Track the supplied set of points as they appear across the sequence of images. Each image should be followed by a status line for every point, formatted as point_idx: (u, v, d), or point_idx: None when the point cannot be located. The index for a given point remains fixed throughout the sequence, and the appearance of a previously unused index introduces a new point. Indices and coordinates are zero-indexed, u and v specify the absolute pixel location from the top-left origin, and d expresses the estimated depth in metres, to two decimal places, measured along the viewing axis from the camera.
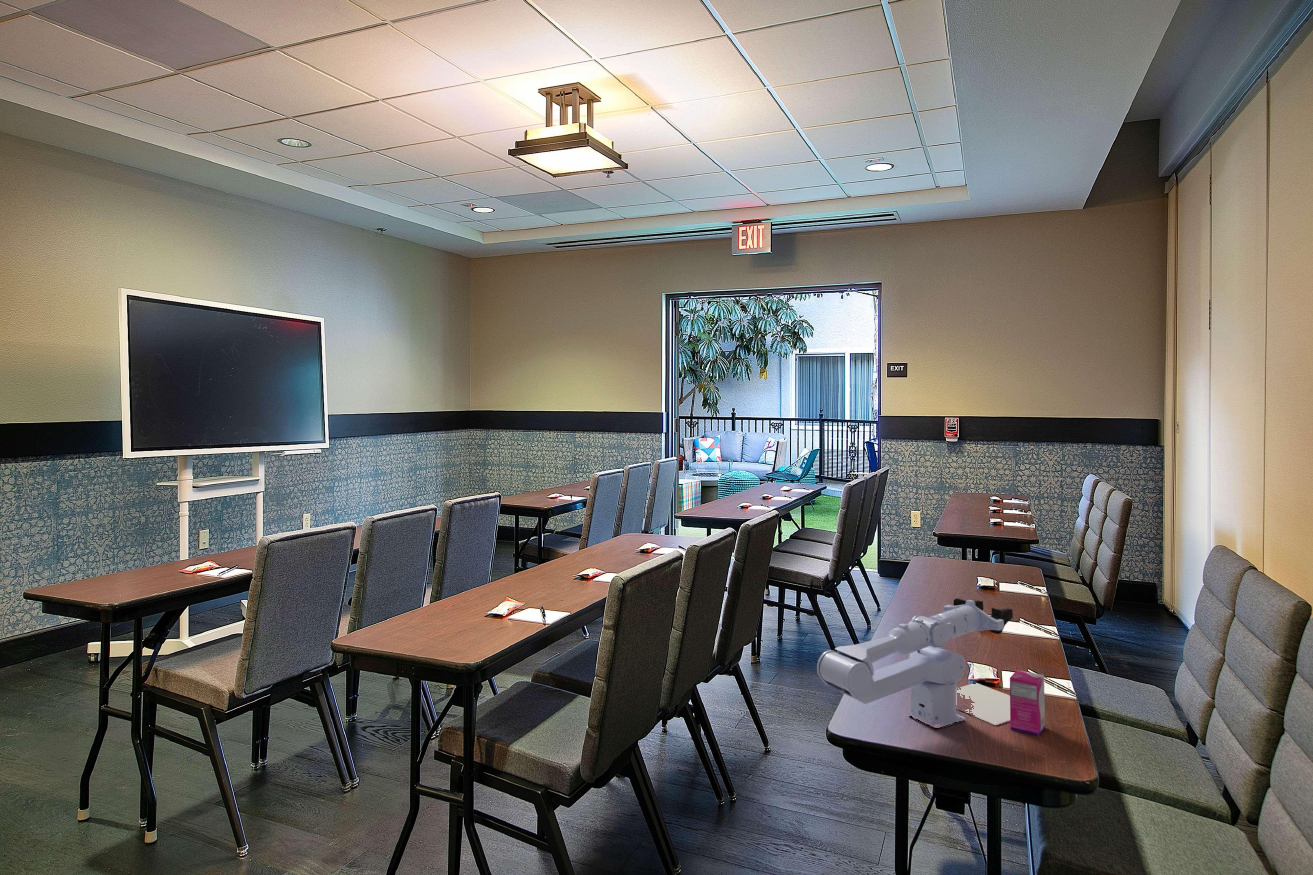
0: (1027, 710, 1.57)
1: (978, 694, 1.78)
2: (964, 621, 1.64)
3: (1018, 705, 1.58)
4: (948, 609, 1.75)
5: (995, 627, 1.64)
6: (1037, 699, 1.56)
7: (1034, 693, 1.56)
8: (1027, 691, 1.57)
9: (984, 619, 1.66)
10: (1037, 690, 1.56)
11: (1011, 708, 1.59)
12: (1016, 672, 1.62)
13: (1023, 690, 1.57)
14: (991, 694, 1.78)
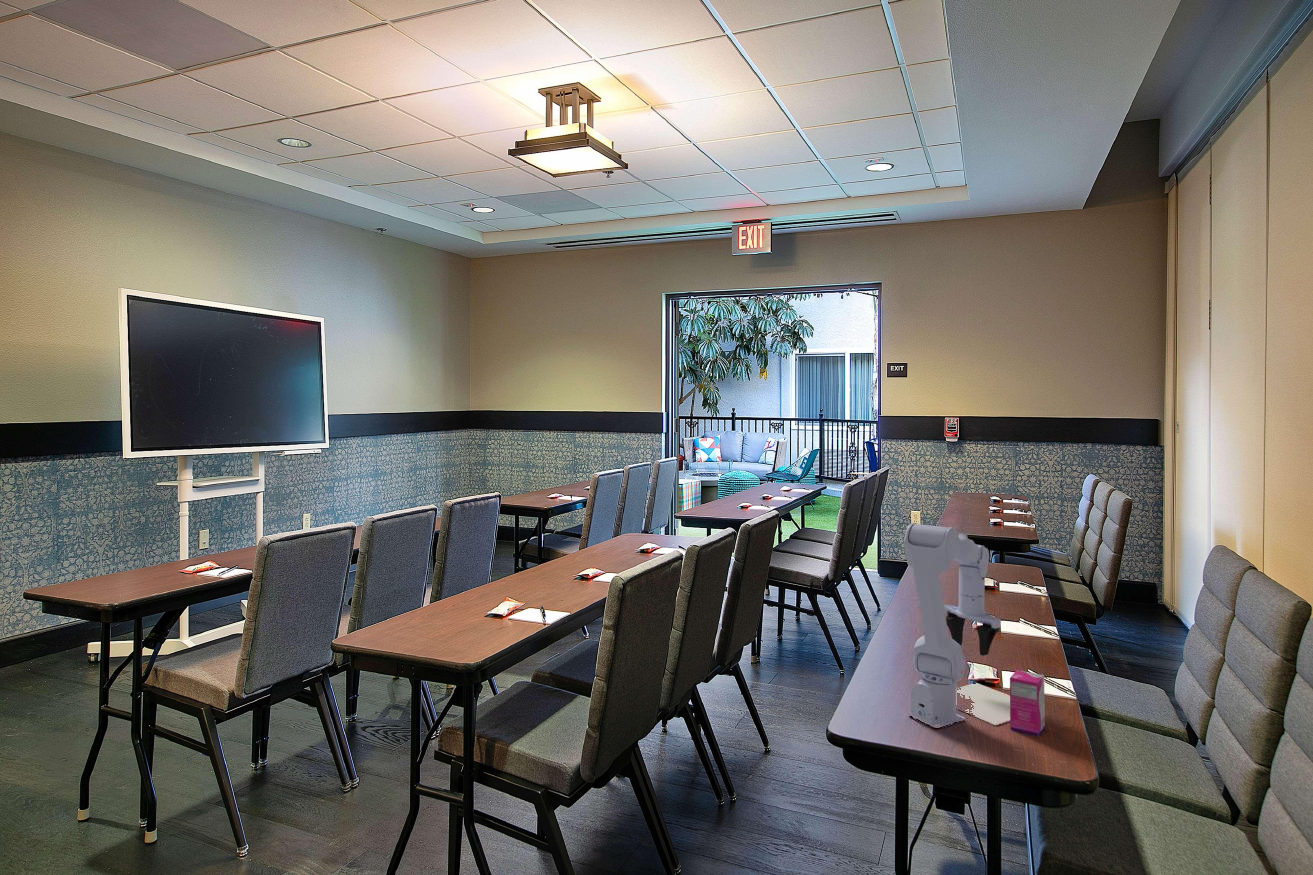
0: (1027, 710, 1.57)
1: (978, 694, 1.78)
2: (984, 591, 1.77)
3: (1018, 705, 1.58)
4: None
5: None
6: (1037, 699, 1.56)
7: (1034, 693, 1.56)
8: (1027, 691, 1.57)
9: None
10: (1037, 690, 1.56)
11: (1011, 708, 1.59)
12: (1016, 672, 1.62)
13: (1023, 690, 1.57)
14: (991, 694, 1.78)
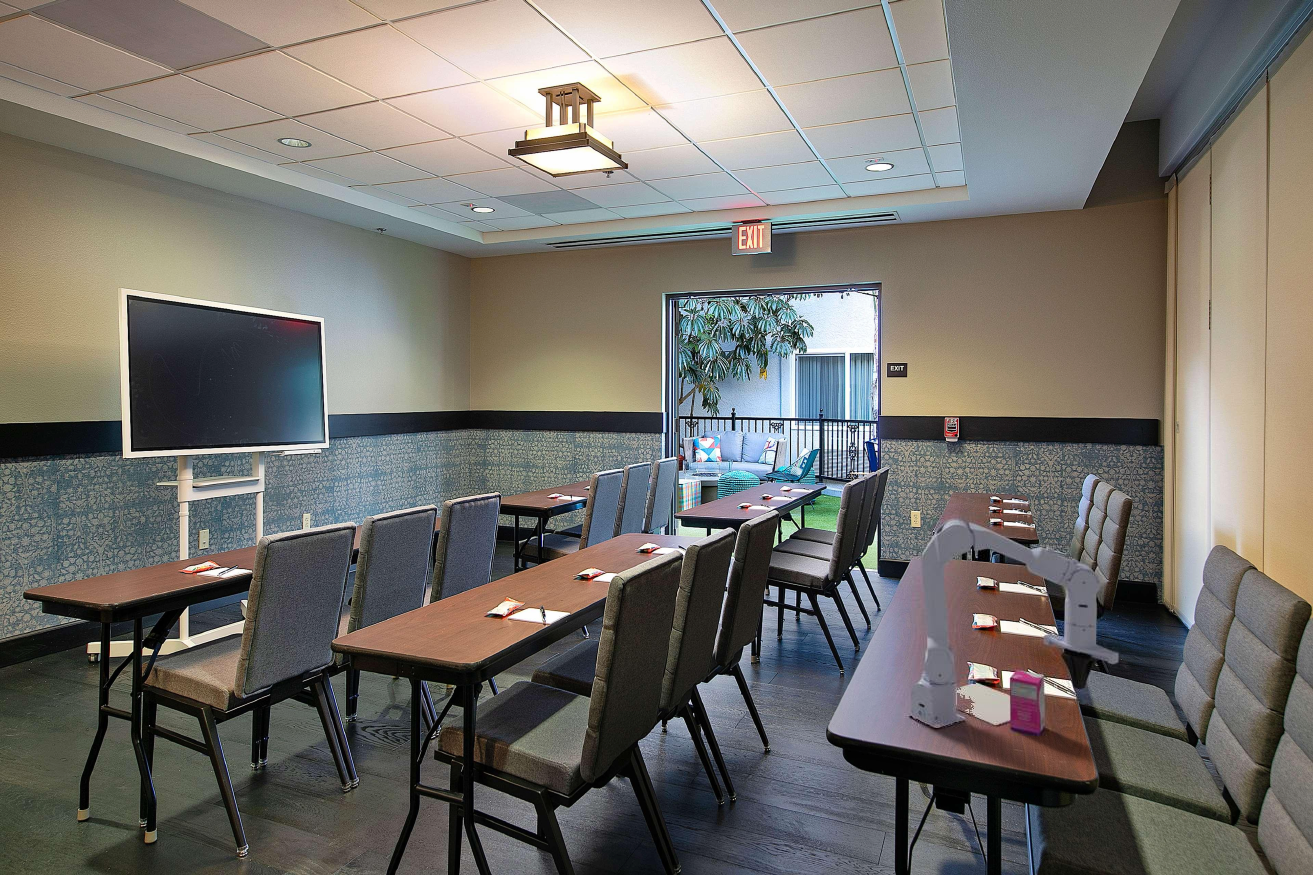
0: (1027, 710, 1.57)
1: (978, 694, 1.78)
2: (1088, 623, 1.52)
3: (1018, 705, 1.58)
4: None
5: None
6: (1037, 699, 1.56)
7: (1034, 693, 1.56)
8: (1027, 691, 1.57)
9: None
10: (1037, 690, 1.56)
11: (1011, 708, 1.59)
12: (1016, 672, 1.62)
13: (1023, 690, 1.57)
14: (991, 694, 1.78)
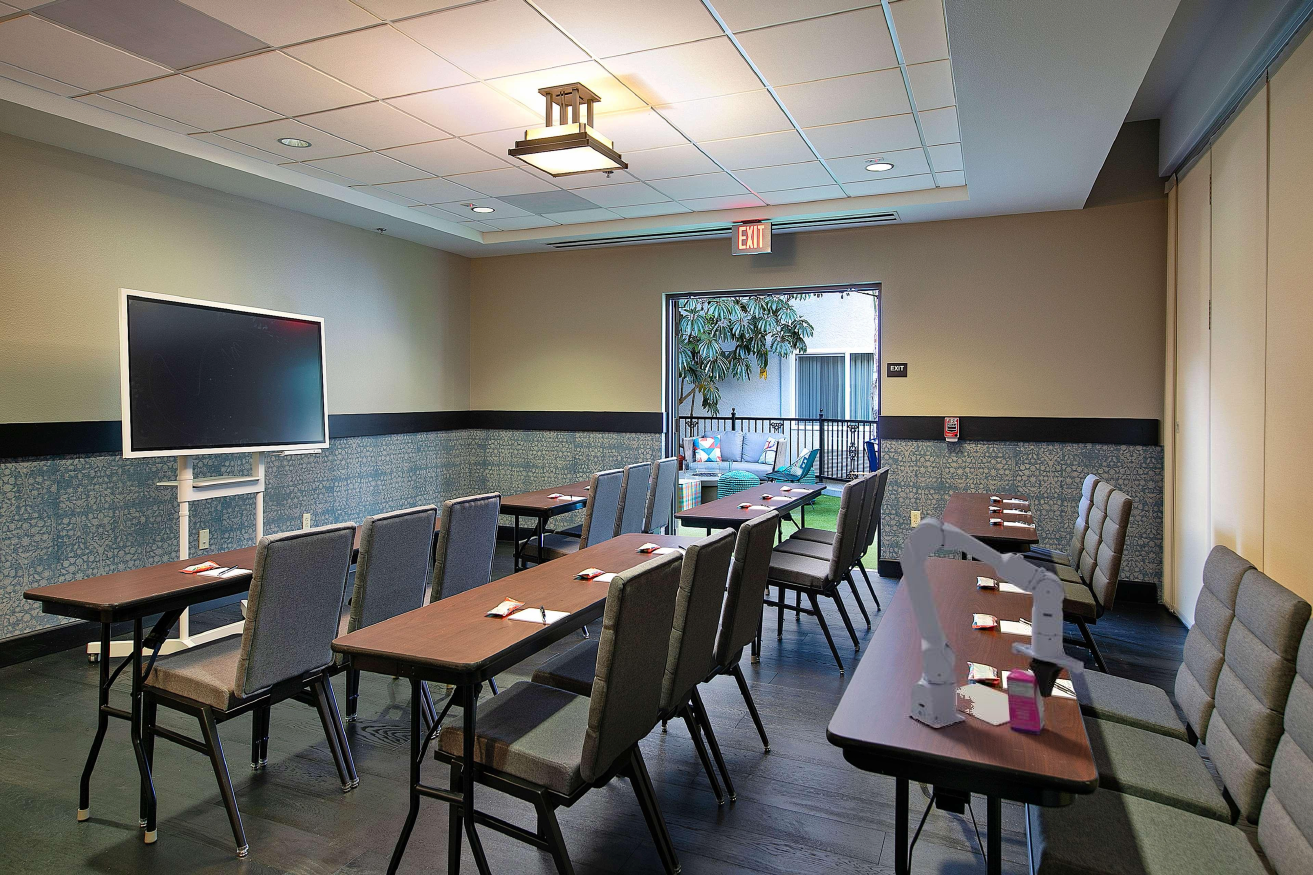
0: (1025, 708, 1.57)
1: (978, 694, 1.78)
2: (1053, 632, 1.52)
3: (1016, 703, 1.58)
4: None
5: None
6: (1034, 697, 1.56)
7: (1032, 691, 1.56)
8: (1024, 689, 1.57)
9: None
10: (1034, 687, 1.56)
11: (1010, 707, 1.59)
12: (1013, 671, 1.62)
13: (1020, 688, 1.58)
14: (991, 694, 1.78)
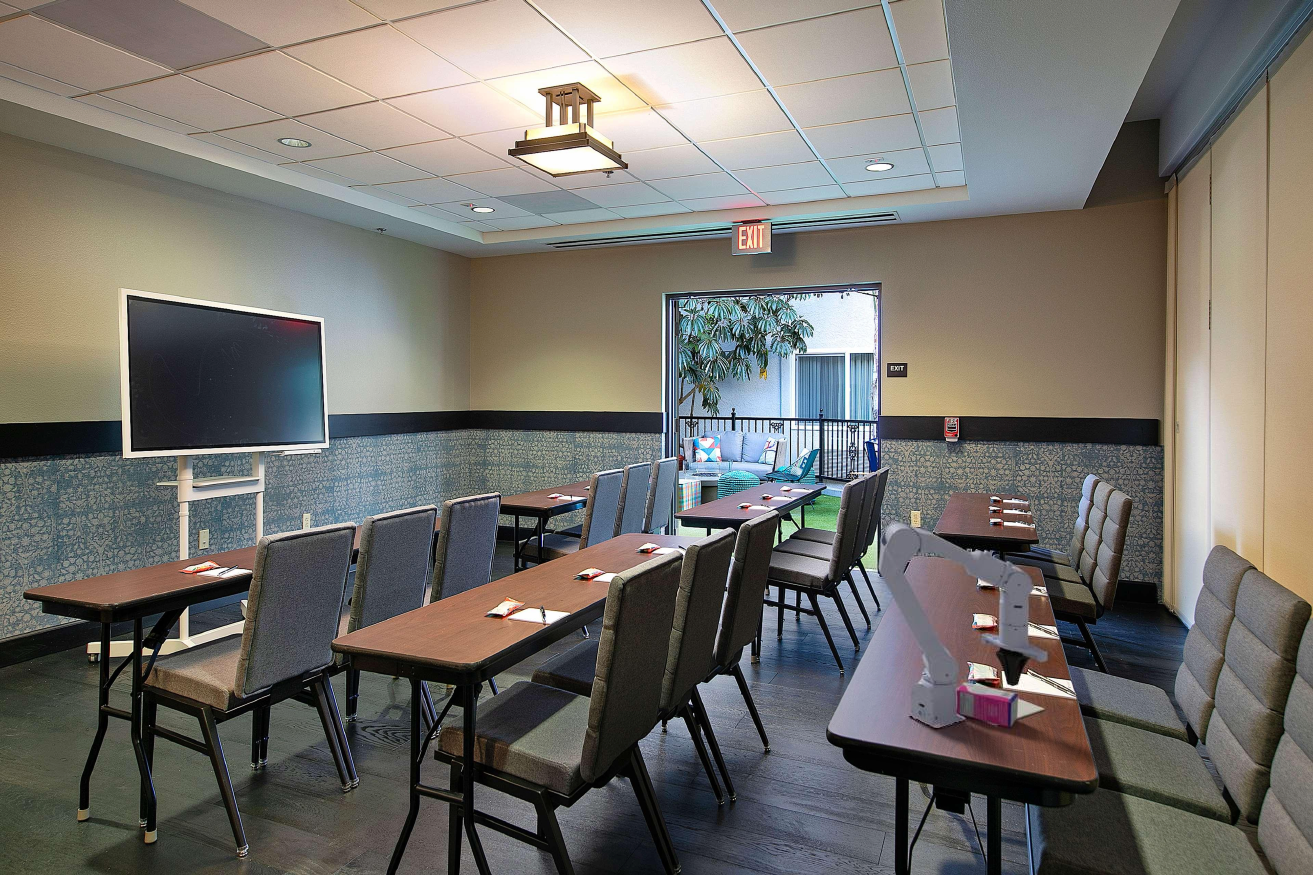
0: (986, 705, 1.62)
1: None
2: (1022, 622, 1.59)
3: (982, 713, 1.63)
4: None
5: None
6: (973, 694, 1.64)
7: (968, 695, 1.65)
8: (967, 701, 1.65)
9: None
10: (964, 691, 1.65)
11: (987, 720, 1.62)
12: None
13: (966, 704, 1.65)
14: None
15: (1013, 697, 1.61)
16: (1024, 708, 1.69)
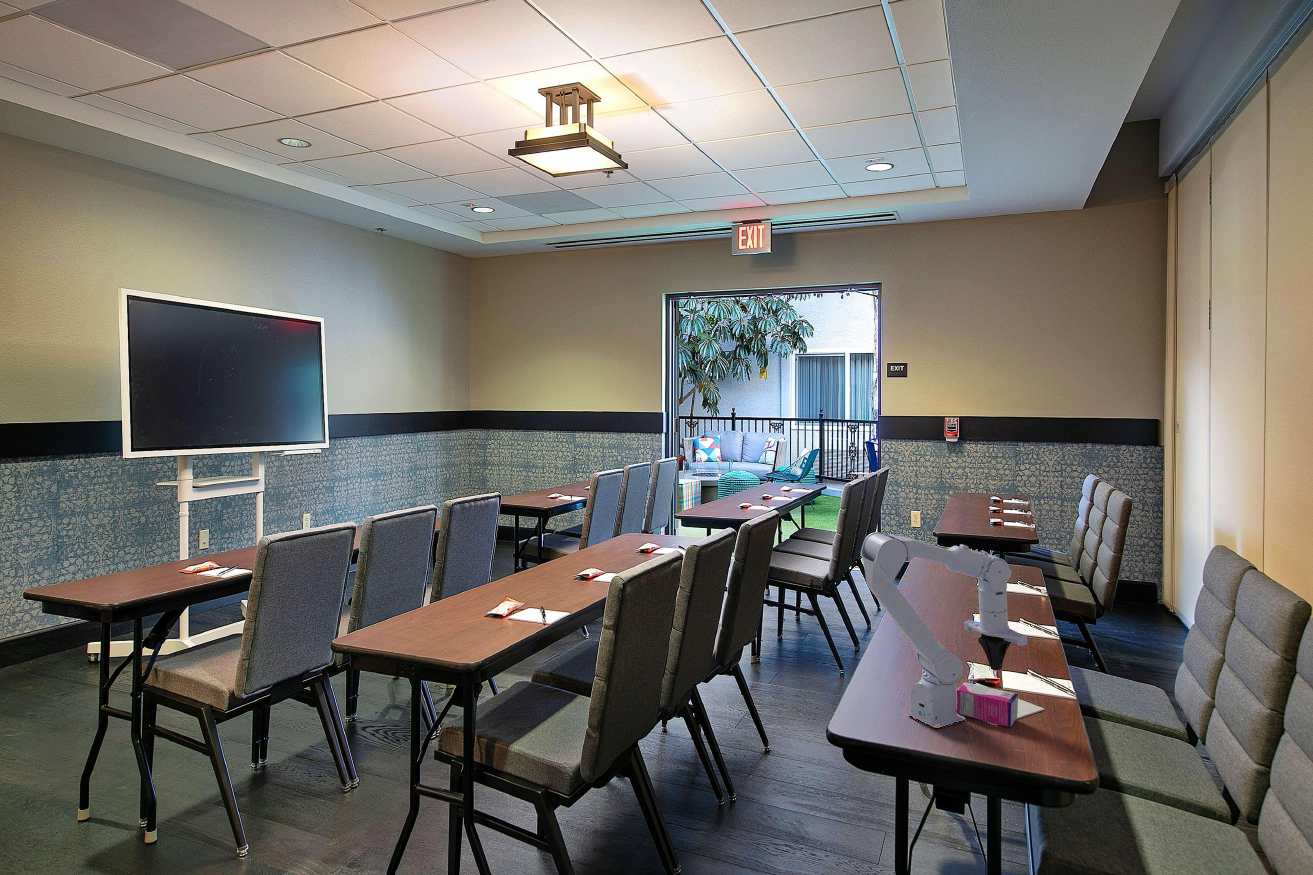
0: (986, 705, 1.62)
1: None
2: (1004, 608, 1.63)
3: (982, 713, 1.63)
4: None
5: None
6: (973, 694, 1.64)
7: (968, 695, 1.65)
8: (967, 701, 1.65)
9: None
10: (964, 691, 1.65)
11: (987, 720, 1.62)
12: None
13: (966, 704, 1.65)
14: None
15: (1013, 697, 1.61)
16: (1024, 708, 1.69)
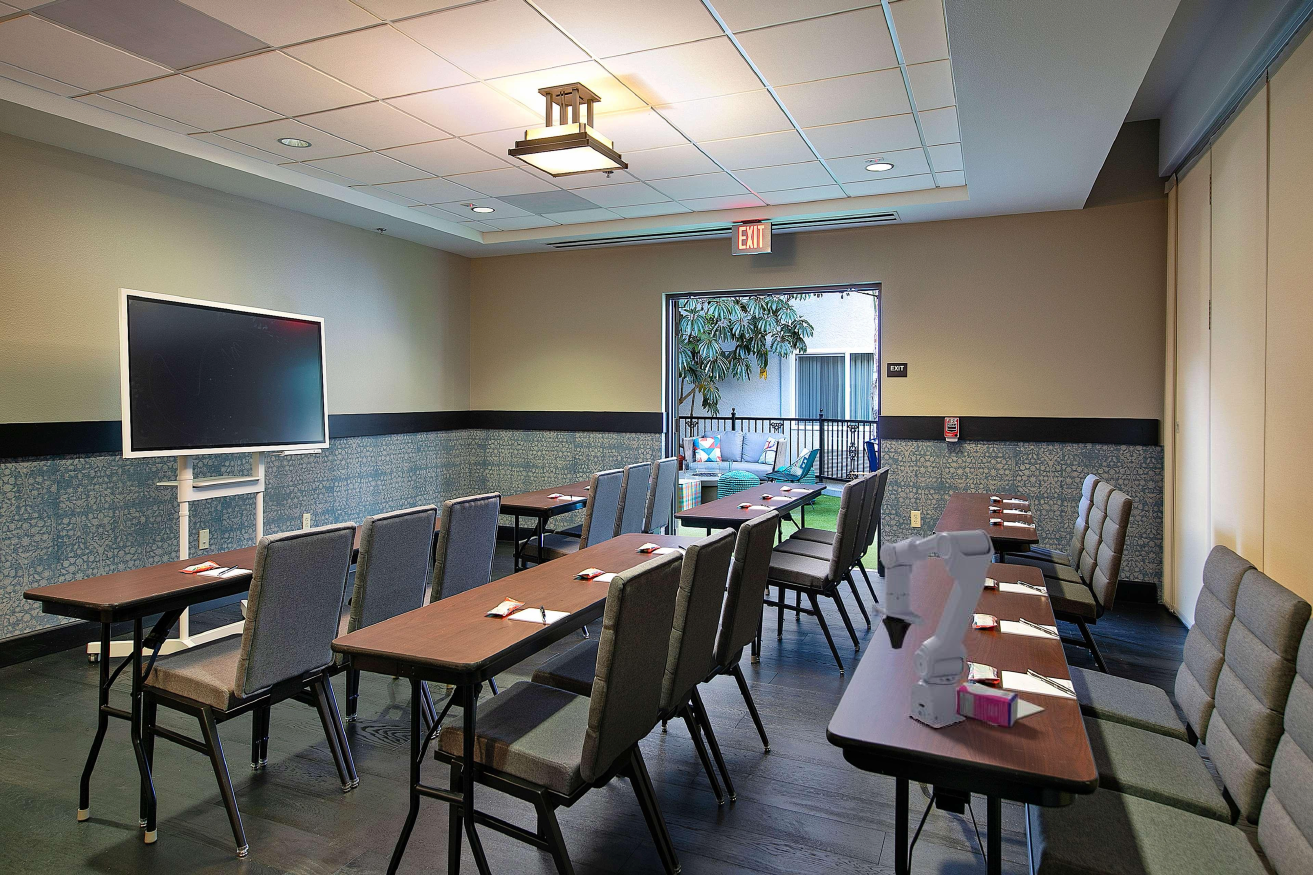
0: (986, 705, 1.62)
1: None
2: None
3: (982, 713, 1.63)
4: None
5: None
6: (973, 694, 1.64)
7: (968, 695, 1.65)
8: (967, 701, 1.65)
9: (909, 615, 1.78)
10: (964, 691, 1.65)
11: (987, 720, 1.62)
12: None
13: (966, 704, 1.65)
14: None
15: (1013, 697, 1.61)
16: (1024, 708, 1.69)
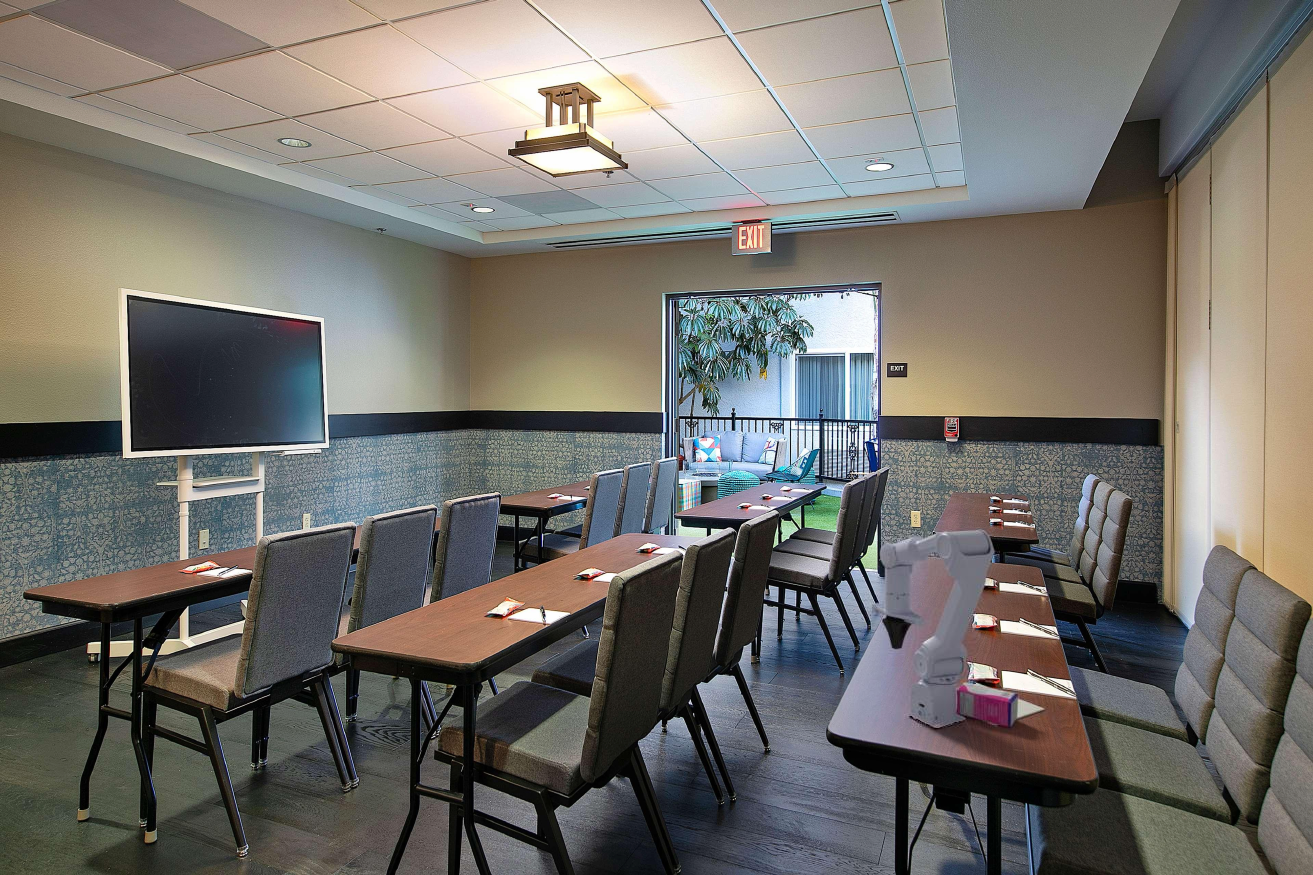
0: (986, 705, 1.62)
1: None
2: None
3: (982, 713, 1.63)
4: None
5: None
6: (973, 694, 1.64)
7: (968, 695, 1.65)
8: (967, 701, 1.65)
9: (909, 615, 1.78)
10: (964, 691, 1.65)
11: (987, 720, 1.62)
12: None
13: (966, 704, 1.65)
14: None
15: (1013, 697, 1.61)
16: (1024, 708, 1.69)
